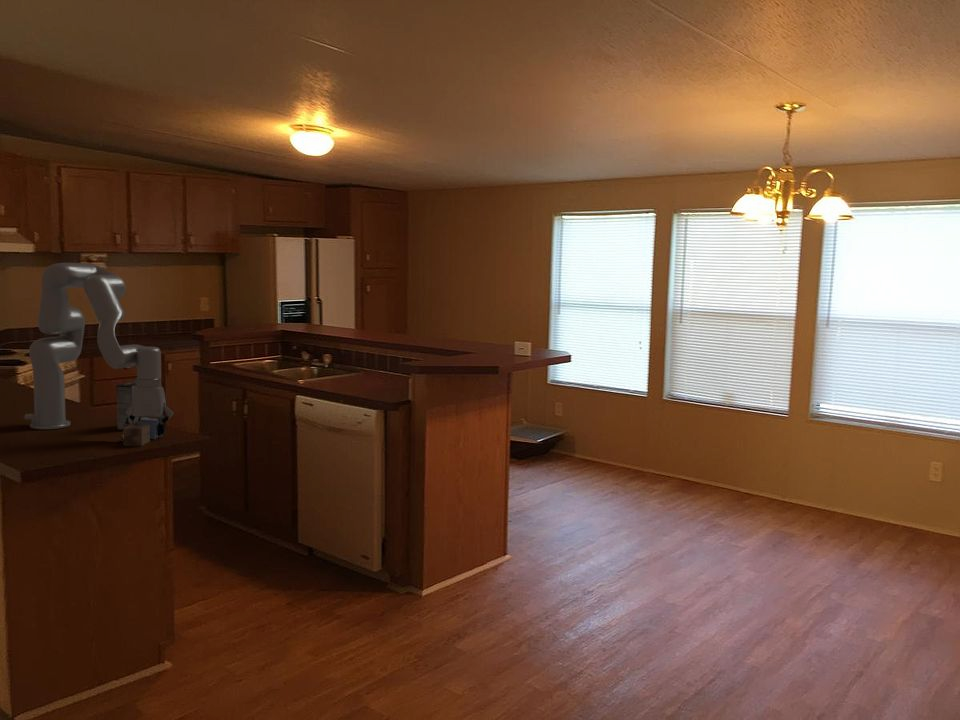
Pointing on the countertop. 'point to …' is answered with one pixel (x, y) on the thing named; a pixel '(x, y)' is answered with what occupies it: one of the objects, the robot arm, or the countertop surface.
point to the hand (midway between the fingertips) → (149, 434)
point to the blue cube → (151, 426)
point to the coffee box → (125, 403)
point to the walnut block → (136, 435)
